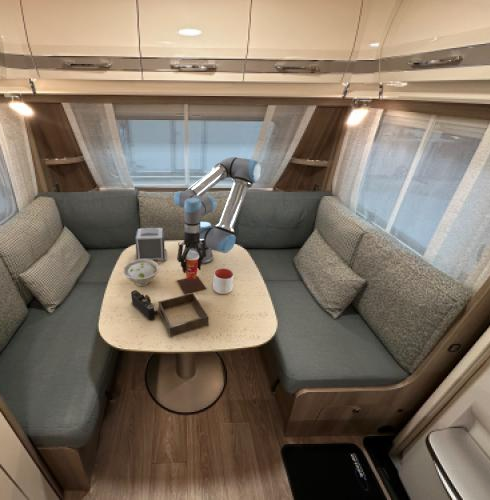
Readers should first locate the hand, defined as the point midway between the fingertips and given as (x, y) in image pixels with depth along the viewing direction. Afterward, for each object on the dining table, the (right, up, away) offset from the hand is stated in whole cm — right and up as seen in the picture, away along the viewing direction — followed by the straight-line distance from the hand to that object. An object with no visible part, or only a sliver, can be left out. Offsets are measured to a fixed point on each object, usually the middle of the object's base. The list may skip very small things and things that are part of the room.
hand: (191, 270), depth 139 cm
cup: (+16, -10, +2) cm, 19 cm away
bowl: (-27, -7, +7) cm, 29 cm away
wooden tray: (-4, -20, -16) cm, 26 cm away
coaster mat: (0, -8, +5) cm, 10 cm away
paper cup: (0, -4, +2) cm, 4 cm away
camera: (-22, -18, -12) cm, 31 cm away
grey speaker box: (-25, +6, +30) cm, 40 cm away
